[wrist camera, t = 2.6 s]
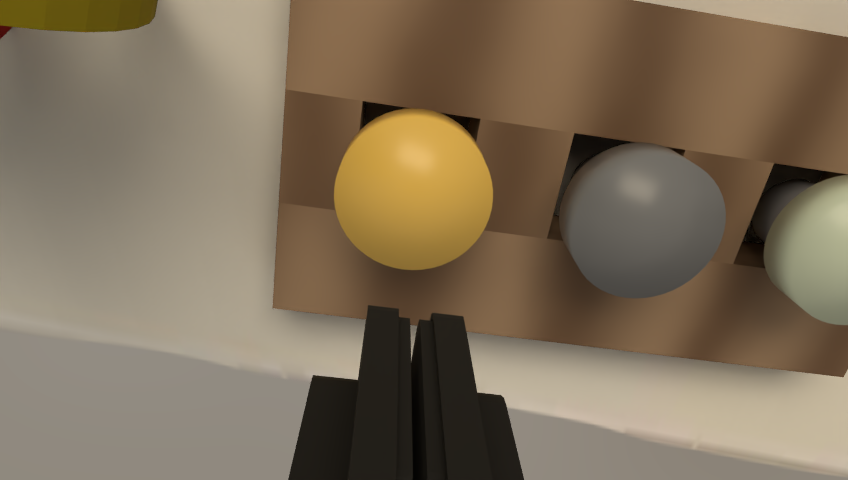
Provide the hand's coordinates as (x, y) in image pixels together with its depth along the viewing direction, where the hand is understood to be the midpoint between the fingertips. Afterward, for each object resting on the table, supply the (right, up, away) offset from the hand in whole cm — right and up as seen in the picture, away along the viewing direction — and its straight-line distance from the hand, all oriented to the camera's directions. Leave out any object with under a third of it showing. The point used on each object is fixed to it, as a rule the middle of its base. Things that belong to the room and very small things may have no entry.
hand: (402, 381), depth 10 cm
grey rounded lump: (+8, +5, +14) cm, 16 cm away
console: (+8, +5, +15) cm, 18 cm away
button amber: (0, +6, +13) cm, 14 cm away
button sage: (+16, +4, +14) cm, 22 cm away
